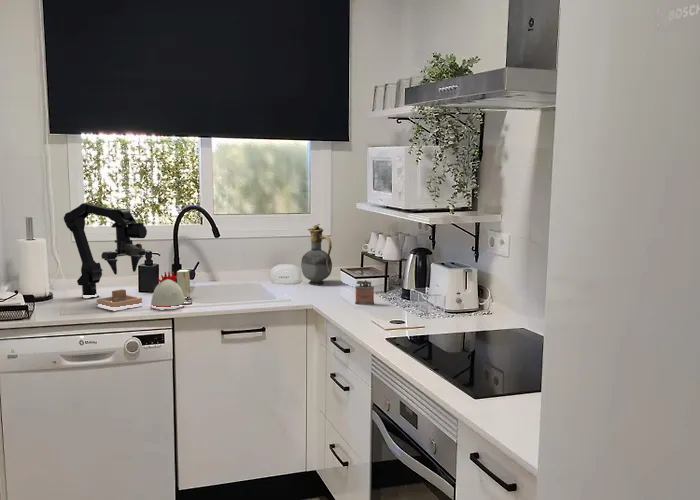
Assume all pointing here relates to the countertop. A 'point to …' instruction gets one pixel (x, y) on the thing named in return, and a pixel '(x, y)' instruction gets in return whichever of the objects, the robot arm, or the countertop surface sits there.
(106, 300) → the brown square tray
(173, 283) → the grey crested dome
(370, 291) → the lighter
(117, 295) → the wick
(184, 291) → the skincare box
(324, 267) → the pitcher
